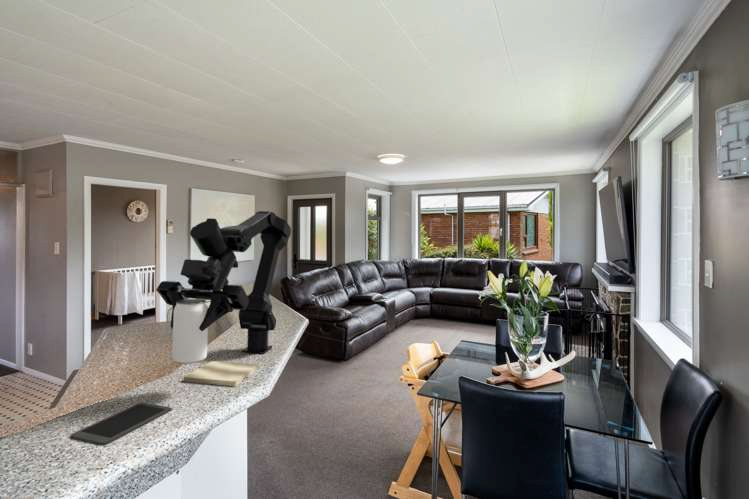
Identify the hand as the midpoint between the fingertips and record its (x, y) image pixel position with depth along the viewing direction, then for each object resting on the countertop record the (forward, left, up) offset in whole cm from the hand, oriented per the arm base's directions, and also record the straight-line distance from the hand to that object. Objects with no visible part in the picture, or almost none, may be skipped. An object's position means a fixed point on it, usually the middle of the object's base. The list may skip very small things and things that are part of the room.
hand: (186, 328), depth 80 cm
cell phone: (+14, -2, -14) cm, 19 cm away
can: (-1, 0, -7) cm, 7 cm away
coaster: (-12, +2, -13) cm, 18 cm away
